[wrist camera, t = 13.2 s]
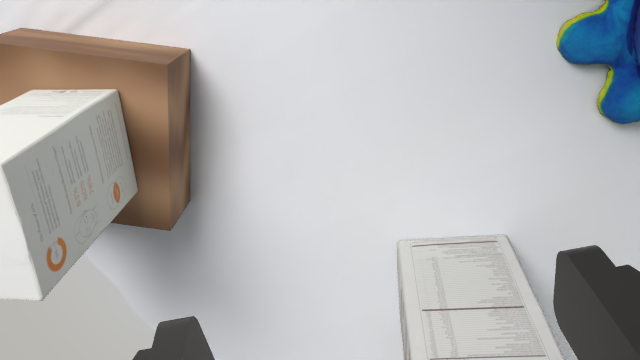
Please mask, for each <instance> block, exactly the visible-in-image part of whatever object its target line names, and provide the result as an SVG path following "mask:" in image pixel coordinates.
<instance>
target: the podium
mask: <svg viewBox="0 0 640 360" xmlns="http://www.w3.org/2000/svg"><path fill="white" fill-rule="evenodd" d="M82 89H116V90H118V94H119V98H120V103H121V108H122V113H123V118H124V123H125V128H126V133H127V138H128V143H129V148H130V153H131V158H132V163H133V168H134V173H135V178H136V183H137V188H138V191H137V193H136V194H135V195H134V196H133V197H132V198H131V200H130V201H129V202H128V203H127V204H126V205H125V207H124V208H123V209H122V210H121V211H120V212H119V213H118V215H117V216H116V217H115V218H114V219H113V220H112V221H111V223H117V224H124V225H131V226H139V227H146V228H154V229H161V230H168V231H171V229H172V228H173V226H174V225H175V223H176V222H177V220H178V219H179V217H180V216H181V214H182V212H183V211H184V209H185V208H186V206H187V205H188V203H189V202H190V49H185V48H177V47H169V46H161V45H153V44H145V43H137V42H129V41H121V40H113V39H105V38H97V37H89V36H81V35H74V34H66V33H58V32H50V31H42V30H34V29H26V28H19V29H16V30H13V31H9V32H6V33H2V34H0V105H2V104H4V103H7V102H9V101H11V100H13V99H15V98H17V97H19V96H21V95H23V94H25V93H27V92H29V91H31V90H82Z"/></svg>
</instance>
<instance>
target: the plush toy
mask: <svg viewBox="0 0 640 360" xmlns="http://www.w3.org/2000/svg"><path fill="white" fill-rule="evenodd" d="M557 48H558V50H559V52H560V53H561V54H562V56H563V57H564V58H565V59H566V60H568V61H569V62H570V63H575V64H605V65H607V66H609V68H610V69H611V70H610V71H608V74H607V80H606V82H605V86H604V87H603V88H602V91H600V93H599V99H598V102H597V106H598V109H599V111H600V113H601V114H603V115H605V116H606V117H608V118H609V119H611V120H612V121H614V122H617V123H621V124H626V123H631V122H637V121H639V120H640V0H606V1H605V4H604V5H602V6H600V7H599V10H596V11H594V12H588V13H583V14H580V15H578V16H576V17H575V18H574V19H570V21H567V22H566V23H565V24H564V25H563V27H562V28H561V29H560V31H559V33H558V37H557Z"/></svg>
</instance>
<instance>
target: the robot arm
mask: <svg viewBox="0 0 640 360" xmlns="http://www.w3.org/2000/svg"><path fill="white" fill-rule="evenodd" d="M553 304H554V311H555V315H556V319H557V322H558V324H559V327H560V329H561V331H562V332H563V334H564V336H565V337H566V339H567V341H568V343H569V344H570V346H571V348H572V349H573V351H574V353H575V355H576V356H577V358H578V360H640V272H639V271H638V270H636V269H635V268H633V267H631V266H630V265H624V266H618V267H616V266H615V265H614V264H613V263H612V261H611V260H610V259H609V258H608V257H607V255H606V254H605V253H604V252H603V250H602V249H601V248H600V247H598V246H596V245H593V246H588V247H582V248H576V249H571V250H565V251H560V252H559V253H558V255H557V259H556V273H555V286H554V299H553ZM133 360H215V359H214V357H213V354H212V352H211V350H210V347H209V345H208V343H207V341H206V338H205V336H204V334H203V331H202V329H201V327H200V324H199V322H198V320H197V319H196V318H195V317H194V316H192V317H186V318H181V319H175V320H169V321H164V322H160V323H159V325H158V327H157V329H156V333H155V337H154V341H153V345H152V348H150V349H145V350H139V351H138V352H137V354H136V355H135V357H134V358H133Z"/></svg>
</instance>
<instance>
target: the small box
mask: <svg viewBox="0 0 640 360" xmlns="http://www.w3.org/2000/svg"><path fill="white" fill-rule="evenodd" d="M137 191H138V188H137V183H136V178H135V173H134V168H133V163H132V158H131V153H130V148H129V143H128V138H127V133H126V128H125V123H124V118H123V113H122V108H121V103H120V98H119V94H118V90H116V89H82V90H31V91H29V92H27V93H25V94H23V95H21V96H19V97H17V98H15V99H13V100H11V101H9V102H7V103H4V104H2V105H0V299H14V300H35V301H42V300H44V298H45V297H46V296H47V295H48V294H49V292H50V291H51V290H52V289H53V288H54V286H55V285H56V284H57V283H58V282H59V281H60V280H61V278H62V277H63V276H64V275H65V274H66V273H67V272H68V270H69V269H70V268H71V267H72V266H73V265H74V263H75V262H76V261H77V260H78V259H79V258H80V257H81V256H82V255H83V254H84V252H85V251H86V250H87V249H88V248H89V247H90V245H91V244H92V243H93V242H94V241H95V240H96V238H97V237H98V236H99V235H100V234H101V233H102V232H103V231H104V229H105V228H106V227H107V226H108V225H109V224H110V223H111V221H112V220H113V219H114V218H115V217H116V216H117V215H118V213H119V212H120V211H121V210H122V209H123V208H124V207H125V205H126V204H127V203H128V202H129V201H130V200H131V198H132V197H133V196H134V195H135V194H136V193H137Z"/></svg>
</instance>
